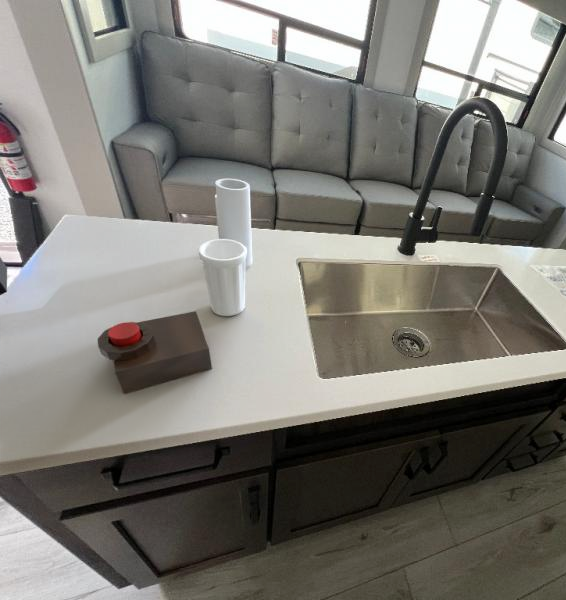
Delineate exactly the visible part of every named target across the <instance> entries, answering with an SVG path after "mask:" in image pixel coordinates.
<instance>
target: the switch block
mask: <svg viewBox="0 0 566 600" xmlns="http://www.w3.org/2000/svg"><path fill="white" fill-rule="evenodd" d="M130 322H131V323H135V324H137V325H138V327H139V330H140V333H141V339H140V340H139V341H138V342H136V343H134V344H132V345H129V346H124V347H118V346H115V345H113V344H112V342H111V340H110V337H109V335H108V332H109V330H110V329H111V328H112V327H113V326H111V327H109V328H107V329H105V330H104V331H103V332H102V333H101V334H100V335H99V336H98V338H97V347H98V349H99V352H100V354H101V356H103V357H105V358H106V359H108V360H110V361H113V368H114V373H115V376H116V378H117V380H118V383H119V386H120V388H121V390H122V392H123V394H124V395H125V394H129V393H132V392H136V391H139V390H144V389H146V388H151V387H155V386H157V385H160V384H161V385H162V384H164V383H167V382H170V381H174V380H179V379H182V378H185V377H188V376H191V375H196V374H199V373H202V372H205V371H209V370H213V366H212V365H213V364H212V359H211V353H210V347H209V344H208V341H207V339H206V336H205V332H204V330H203V328H202V327H203V326H202V325H201V322H200V319H199V315H198V313H197V311H190V312H189V311H188V312H184V313H179V314H174V315H167V316H164V317H158V318H153V319H147V320H142V321H138V322H135V321H130Z"/></svg>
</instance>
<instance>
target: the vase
mask: <svg viewBox="0 0 566 600" xmlns="http://www.w3.org/2000/svg"><path fill="white" fill-rule="evenodd" d="M214 185H215V195H214V203H215V212H216V223H217V233H218V234H217V235H218V239H229V240H234V241H237V242H239V243H241V244H243V245H244V246H245V247H246V250H247V257H246V259H245V269H248V268H249V267H251V266H252V265H253V242H252V211H251V185H250V183H248V182H247V181H244V180H241V179H237V178H228V177H227V178H220V179H217V180H216V181H215V184H214Z"/></svg>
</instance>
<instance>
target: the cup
mask: <svg viewBox="0 0 566 600" xmlns="http://www.w3.org/2000/svg"><path fill="white" fill-rule="evenodd" d="M198 256H199V258H200V260H201V261H202V266H203V270H204V271H203V272H204V275H205V281H206V286H207V290H208V296H209V301H210V306H211V310H212V311H213V313H214V314H215V315H219V316H220V317H221V316H222V317H232V316H235V315H239V314H240V313H241V312H243V311H244V310H245V308H246V268H245V259H246V257H247V250H246V247H245V246H244V245H243V244H241V243H239V242H237V241H234V240H229V239H219V238H215V239H211V240H207V241H205V242H203V243H201V245H200V246H199V247H198Z"/></svg>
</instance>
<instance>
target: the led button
mask: <svg viewBox="0 0 566 600" xmlns="http://www.w3.org/2000/svg"><path fill="white" fill-rule="evenodd" d="M131 322H132V321H129V322H127V321H126V322H121V323H117V324H115V325H113V326H111V327H112V328H111V329H110V330H109V332H108V335H109V337H110V340H111V342H112V344H113V345H115V346H118V347H124V346H129V345H132V344H134V343H136V342H138V341H139V340H140V339H141V333H140V330H139V327H138V325H137V324H135V323H131Z"/></svg>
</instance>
